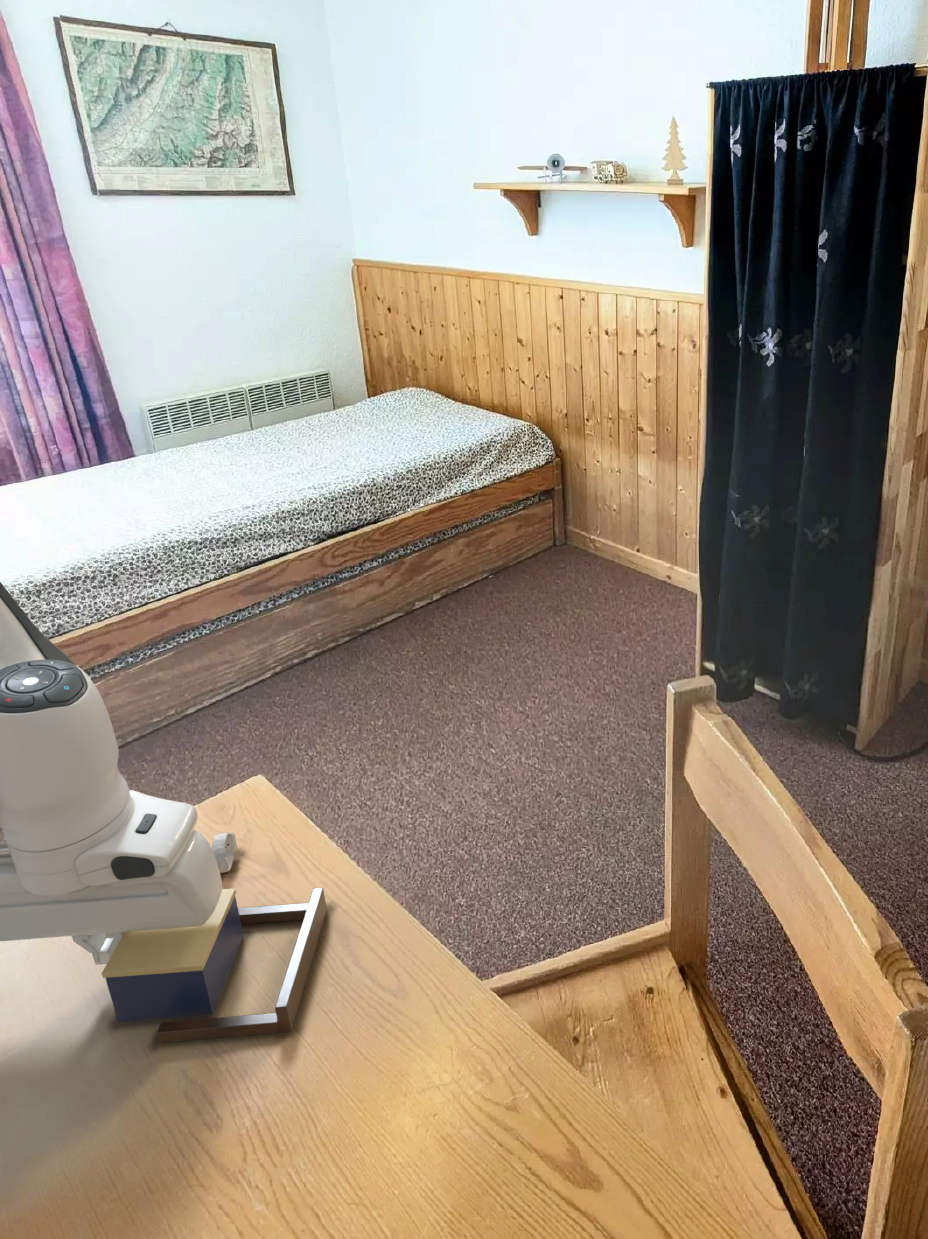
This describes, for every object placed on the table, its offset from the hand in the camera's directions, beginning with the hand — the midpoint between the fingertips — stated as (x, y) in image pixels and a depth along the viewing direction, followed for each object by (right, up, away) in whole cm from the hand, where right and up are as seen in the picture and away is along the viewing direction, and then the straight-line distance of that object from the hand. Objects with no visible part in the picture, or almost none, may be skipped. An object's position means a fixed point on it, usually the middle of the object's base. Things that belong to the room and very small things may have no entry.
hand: (112, 957), depth 75 cm
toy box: (+6, -3, +1) cm, 6 cm away
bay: (+11, -2, +2) cm, 11 cm away
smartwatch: (+4, +2, +14) cm, 14 cm away
